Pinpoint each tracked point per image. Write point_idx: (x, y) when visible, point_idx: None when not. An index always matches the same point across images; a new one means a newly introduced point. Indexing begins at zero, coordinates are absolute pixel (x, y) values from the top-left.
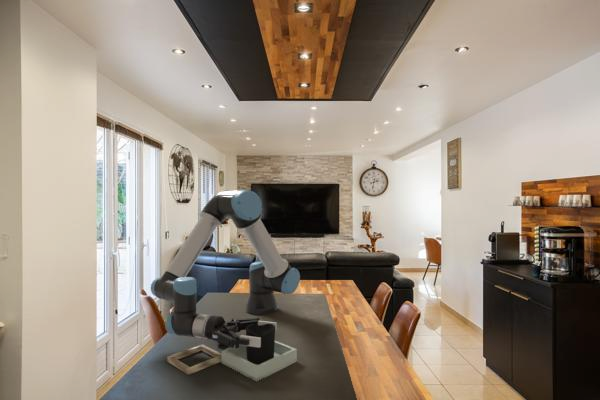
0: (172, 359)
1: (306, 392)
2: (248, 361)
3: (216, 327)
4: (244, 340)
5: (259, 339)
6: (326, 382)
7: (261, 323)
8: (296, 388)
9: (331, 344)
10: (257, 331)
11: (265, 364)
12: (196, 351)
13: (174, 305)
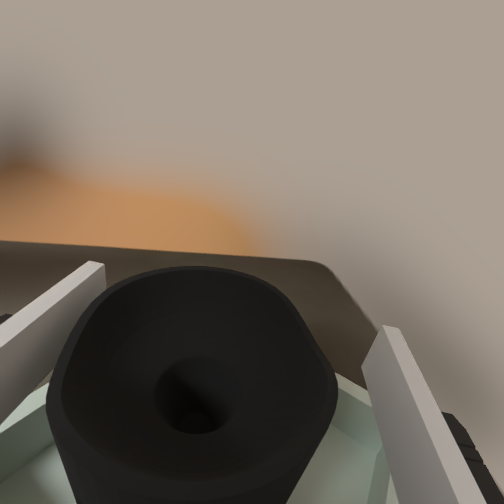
0: None
1: (357, 313)
2: (390, 490)
3: None
4: (473, 450)
5: (397, 334)
6: (297, 281)
7: (5, 361)
8: (353, 331)
9: (75, 250)
10: (118, 415)
11: (360, 389)
12: None
13: None
